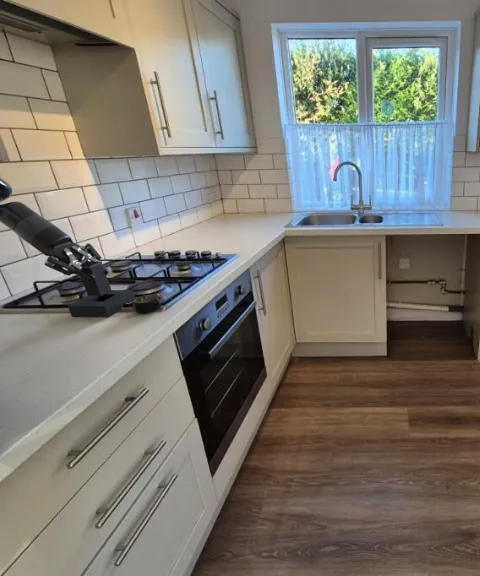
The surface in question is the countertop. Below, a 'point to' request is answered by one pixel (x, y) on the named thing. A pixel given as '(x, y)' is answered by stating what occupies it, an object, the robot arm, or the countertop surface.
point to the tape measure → (146, 303)
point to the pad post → (96, 279)
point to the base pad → (101, 304)
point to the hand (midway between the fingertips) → (100, 276)
